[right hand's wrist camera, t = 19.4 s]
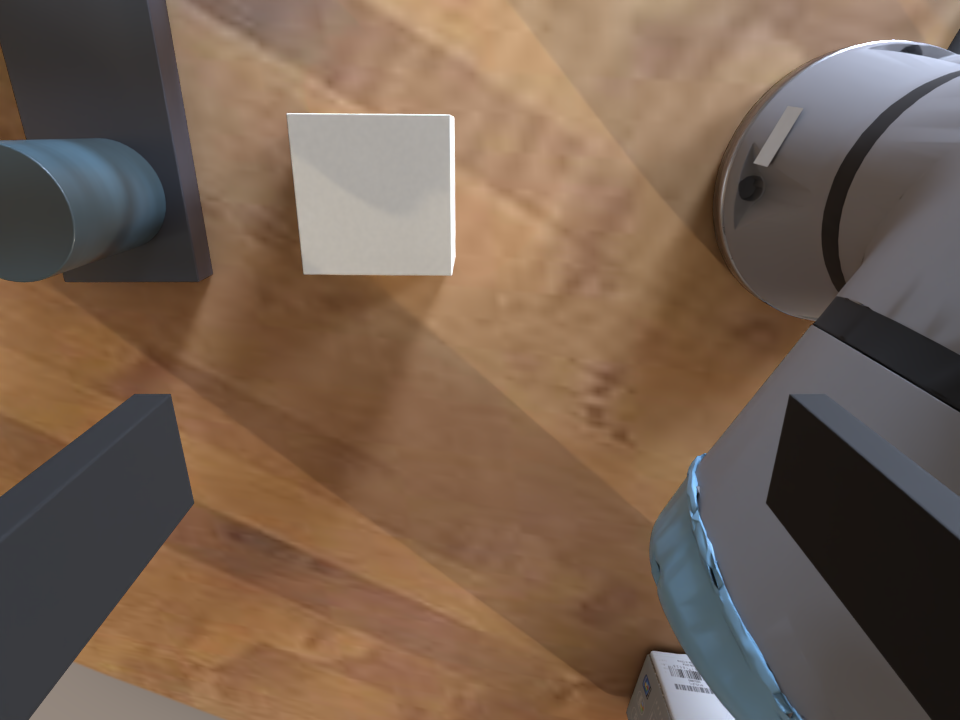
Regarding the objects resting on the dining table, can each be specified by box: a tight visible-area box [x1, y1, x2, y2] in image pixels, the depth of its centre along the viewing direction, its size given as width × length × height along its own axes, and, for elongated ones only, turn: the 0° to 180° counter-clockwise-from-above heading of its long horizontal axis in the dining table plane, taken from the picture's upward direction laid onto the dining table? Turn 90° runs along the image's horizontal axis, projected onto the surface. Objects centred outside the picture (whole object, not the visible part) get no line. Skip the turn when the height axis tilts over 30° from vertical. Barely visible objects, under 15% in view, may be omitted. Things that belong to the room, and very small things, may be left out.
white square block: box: [286, 113, 455, 276], centre depth 32 cm, size 8×8×5 cm
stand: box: [0, 0, 213, 282], centre depth 27 cm, size 26×8×10 cm, turn 0°
